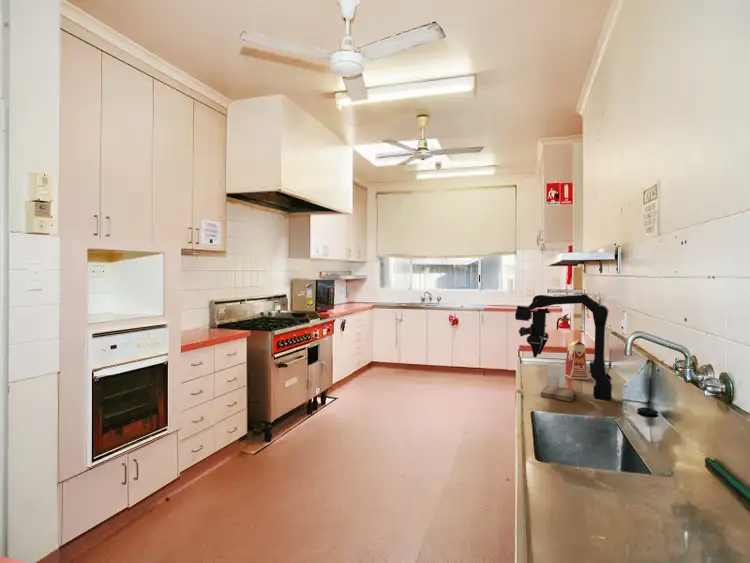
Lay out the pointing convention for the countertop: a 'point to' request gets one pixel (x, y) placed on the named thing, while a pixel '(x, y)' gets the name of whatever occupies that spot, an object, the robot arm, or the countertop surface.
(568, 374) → the milk carton
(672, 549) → the countertop surface
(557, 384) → the cream tea tin
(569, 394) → the walnut block
